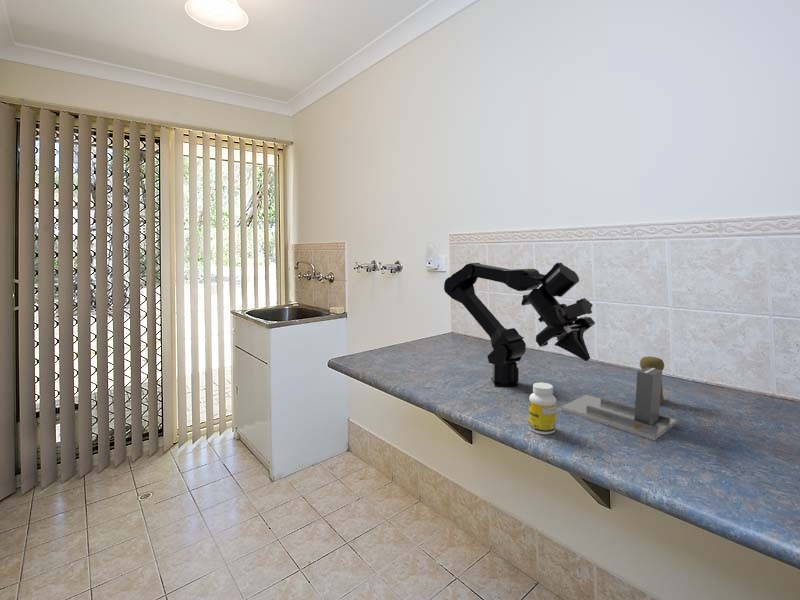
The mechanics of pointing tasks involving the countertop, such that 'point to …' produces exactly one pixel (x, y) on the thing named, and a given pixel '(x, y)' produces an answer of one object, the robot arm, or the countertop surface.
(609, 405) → the plate
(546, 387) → the supplement bottle
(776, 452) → the countertop surface
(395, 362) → the countertop surface
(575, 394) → the countertop surface
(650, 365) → the cork
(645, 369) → the fader tab
